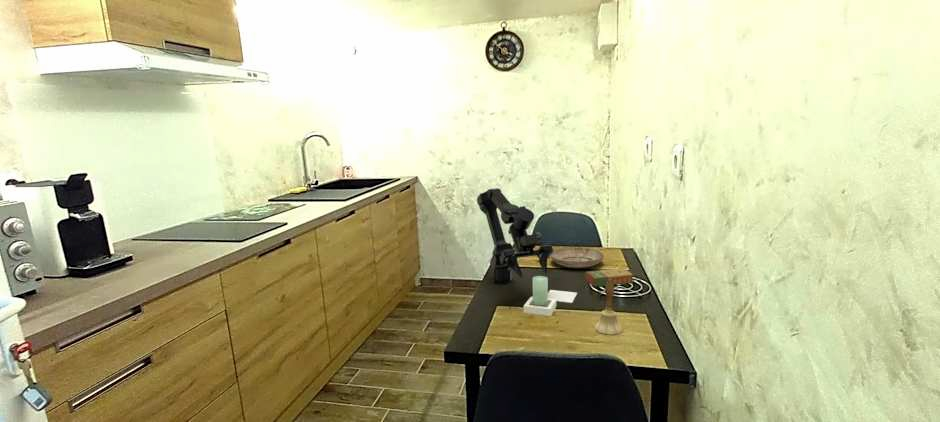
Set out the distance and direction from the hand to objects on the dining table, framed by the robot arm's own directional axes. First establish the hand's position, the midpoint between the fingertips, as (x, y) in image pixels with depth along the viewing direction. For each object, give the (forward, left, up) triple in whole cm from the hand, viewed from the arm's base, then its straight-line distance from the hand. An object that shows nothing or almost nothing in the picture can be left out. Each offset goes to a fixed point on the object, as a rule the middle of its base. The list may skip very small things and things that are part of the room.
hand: (534, 275), depth 161 cm
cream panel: (+7, +11, -11) cm, 17 cm away
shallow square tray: (+3, -3, -11) cm, 12 cm away
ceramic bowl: (+5, +54, -12) cm, 55 cm away
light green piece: (+3, -3, -11) cm, 12 cm away
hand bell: (+26, -10, -11) cm, 30 cm away
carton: (+21, +33, -12) cm, 41 cm away
